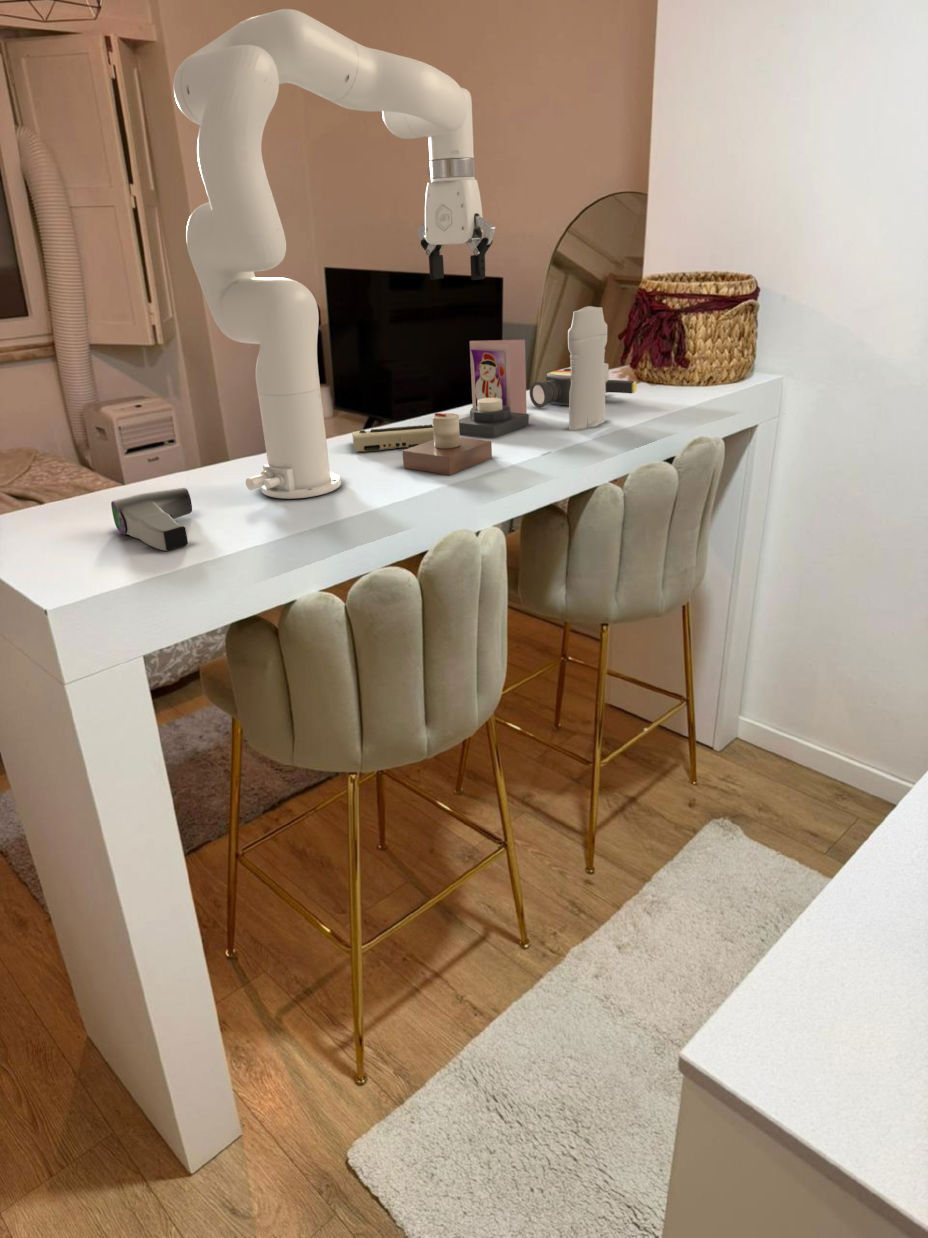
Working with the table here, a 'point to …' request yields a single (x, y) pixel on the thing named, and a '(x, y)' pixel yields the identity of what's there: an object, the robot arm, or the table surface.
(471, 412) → the grey square plinth
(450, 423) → the dial
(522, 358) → the greeting card
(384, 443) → the computer
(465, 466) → the brown flat block
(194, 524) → the table surface
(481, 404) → the power button
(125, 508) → the infrared thermometer
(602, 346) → the tall pale column
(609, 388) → the film camera
